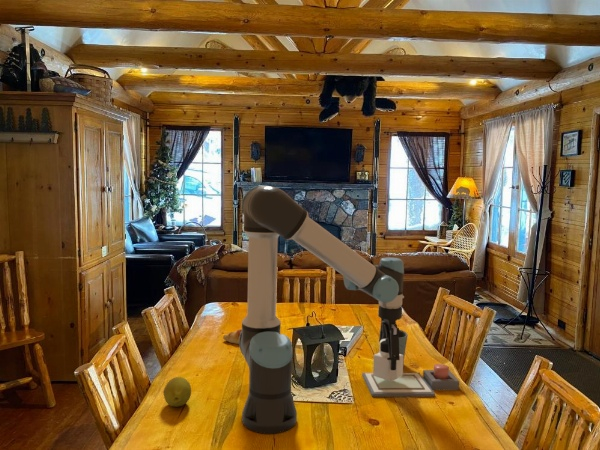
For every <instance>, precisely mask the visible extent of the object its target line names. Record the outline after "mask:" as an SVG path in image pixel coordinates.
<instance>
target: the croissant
mask: <svg viewBox="0 0 600 450" xmlns="http://www.w3.org/2000/svg"><path fill="white" fill-rule="evenodd" d="M241 331H242V328H241V329H237V330H236V331H231V332H229V333H226V334H224V335H223V336H222V339H223V340H224V341H226V342H229V343H232V344H235V345H239V338H240V334H241Z"/></svg>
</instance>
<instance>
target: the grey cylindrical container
mask: <svg viewBox="0 0 600 450" xmlns="http://www.w3.org/2000/svg"><path fill="white" fill-rule="evenodd" d="M407 341H408V333H407V332H406V331H405V330H401V329H399V354H402V355H403V366H404V364H405V354H406V346H407Z"/></svg>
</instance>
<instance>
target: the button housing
mask: <svg viewBox="0 0 600 450" xmlns="http://www.w3.org/2000/svg"><path fill="white" fill-rule="evenodd" d="M433 374H434V369H423V371H422V377H423V378H424V380H425V381H426V382H427V383H428V385H429V386H430V387H431V389H432V390H433V391H460V380H459V379H458V378H457V377H456V376H455V375H454V374H453V372H451V370H449V375H448V379H435V378H434V377H433Z"/></svg>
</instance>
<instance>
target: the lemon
mask: <svg viewBox="0 0 600 450" xmlns="http://www.w3.org/2000/svg"><path fill="white" fill-rule="evenodd" d="M163 389H164V390H163V397H164V401H165V402H166V404H167V405H168V406H171V407H174V408H175V407H176V408H179V407H182V406H184V405H186V404H187V403H188V401H189V400H190V399H191V395H192V388H191V384H190V382H189V381H188V379H187V378H184V377H181V376H175V377H173V378H171V379H170V380H168V381H167V383H166V385H165V386H164V388H163Z"/></svg>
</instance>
